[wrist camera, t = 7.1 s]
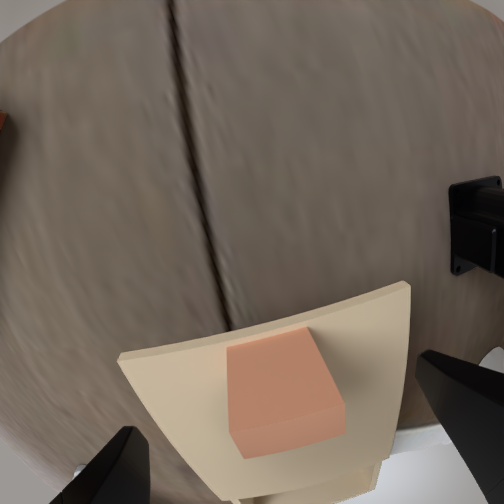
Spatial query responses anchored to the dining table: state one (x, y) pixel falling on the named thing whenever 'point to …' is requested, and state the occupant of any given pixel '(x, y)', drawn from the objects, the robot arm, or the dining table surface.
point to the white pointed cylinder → (494, 360)
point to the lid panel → (282, 395)
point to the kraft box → (324, 490)
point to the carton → (2, 118)
